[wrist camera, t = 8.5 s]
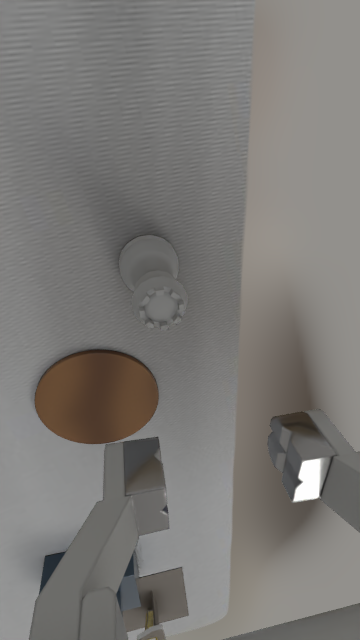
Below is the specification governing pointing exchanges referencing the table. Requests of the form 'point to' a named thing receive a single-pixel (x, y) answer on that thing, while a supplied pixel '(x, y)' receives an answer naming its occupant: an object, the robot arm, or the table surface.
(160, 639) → the platform
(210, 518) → the table surface
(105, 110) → the table surface
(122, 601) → the blue push button box
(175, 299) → the rook chess piece
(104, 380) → the coaster
